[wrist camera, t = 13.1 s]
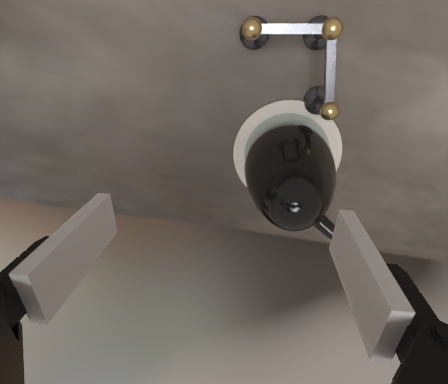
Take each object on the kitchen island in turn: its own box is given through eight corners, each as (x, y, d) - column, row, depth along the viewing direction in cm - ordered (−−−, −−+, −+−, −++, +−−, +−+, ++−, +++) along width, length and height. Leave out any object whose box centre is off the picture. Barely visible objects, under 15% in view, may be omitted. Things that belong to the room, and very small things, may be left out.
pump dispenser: (291, 203, 39) (304, 283, 26) (231, 162, 38) (213, 224, 24) (344, 148, 35) (395, 209, 21) (279, 98, 33) (289, 130, 20)
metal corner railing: (237, 111, 35) (231, 125, 28) (240, 16, 30) (233, 6, 23) (328, 114, 34) (345, 130, 27) (346, 16, 29) (371, 5, 22)
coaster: (232, 196, 41) (231, 199, 40) (234, 97, 34) (234, 98, 34) (330, 203, 39) (331, 205, 39) (351, 101, 33) (353, 102, 32)
